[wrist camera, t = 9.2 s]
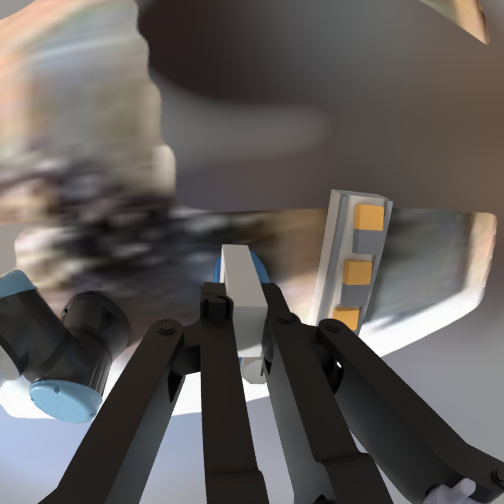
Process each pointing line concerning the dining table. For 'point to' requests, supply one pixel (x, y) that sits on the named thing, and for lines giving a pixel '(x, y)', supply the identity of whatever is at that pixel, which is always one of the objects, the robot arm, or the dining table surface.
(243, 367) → the water bottle
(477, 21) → the dining table surface
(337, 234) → the power strip
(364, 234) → the rocker
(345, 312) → the rocker
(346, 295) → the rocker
